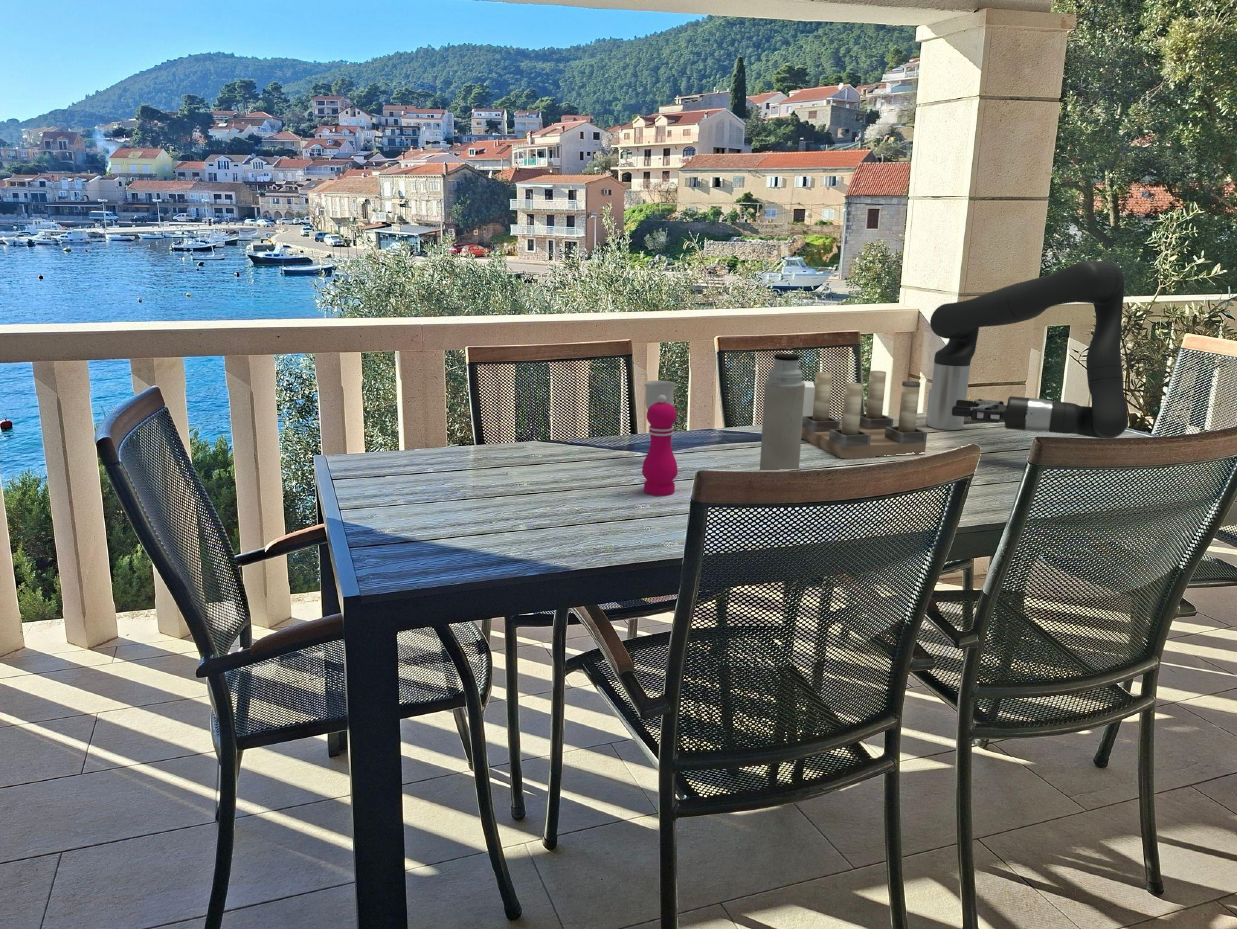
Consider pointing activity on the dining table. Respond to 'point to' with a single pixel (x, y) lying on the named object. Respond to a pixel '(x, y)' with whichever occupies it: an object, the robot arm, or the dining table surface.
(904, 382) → the loose leg
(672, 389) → the chalice
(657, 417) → the pepper mill
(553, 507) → the dining table surface
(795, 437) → the thermos bottle
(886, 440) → the stool seat
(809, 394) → the base with upright slab
